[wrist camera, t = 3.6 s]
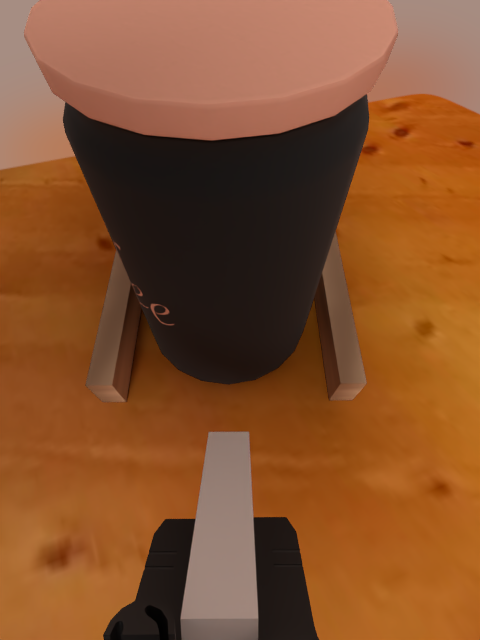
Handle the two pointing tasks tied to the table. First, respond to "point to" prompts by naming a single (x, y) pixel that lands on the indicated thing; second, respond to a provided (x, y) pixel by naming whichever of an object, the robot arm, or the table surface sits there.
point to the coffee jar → (217, 155)
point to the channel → (124, 315)
